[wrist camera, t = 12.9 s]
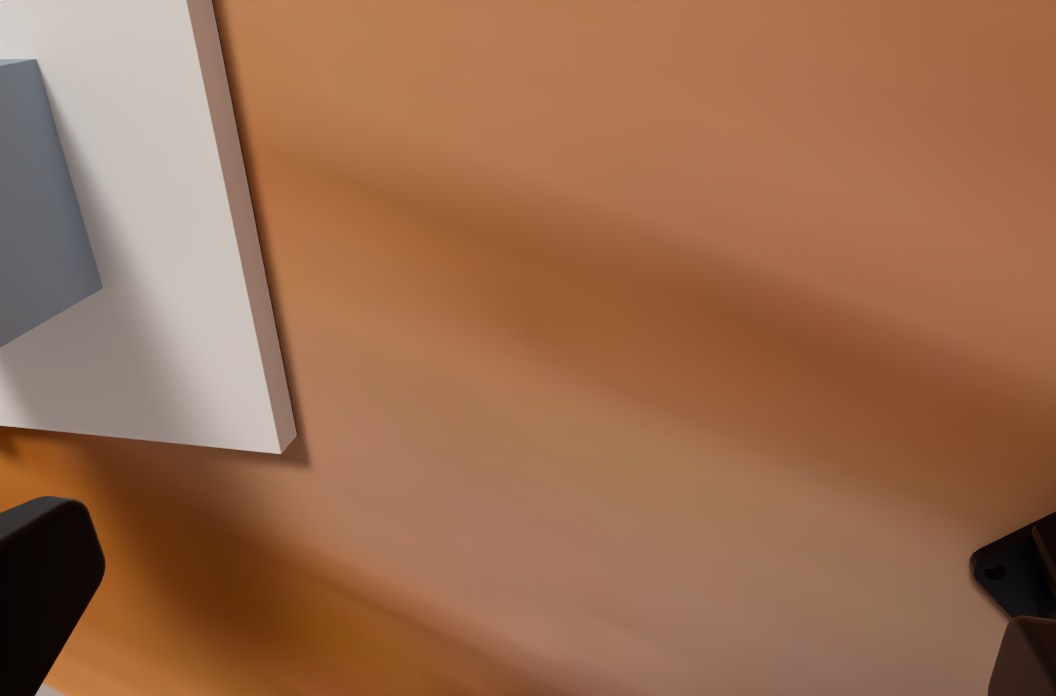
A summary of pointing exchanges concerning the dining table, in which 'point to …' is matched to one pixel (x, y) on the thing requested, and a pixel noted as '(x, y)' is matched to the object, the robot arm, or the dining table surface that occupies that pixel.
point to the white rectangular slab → (149, 236)
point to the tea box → (36, 210)
